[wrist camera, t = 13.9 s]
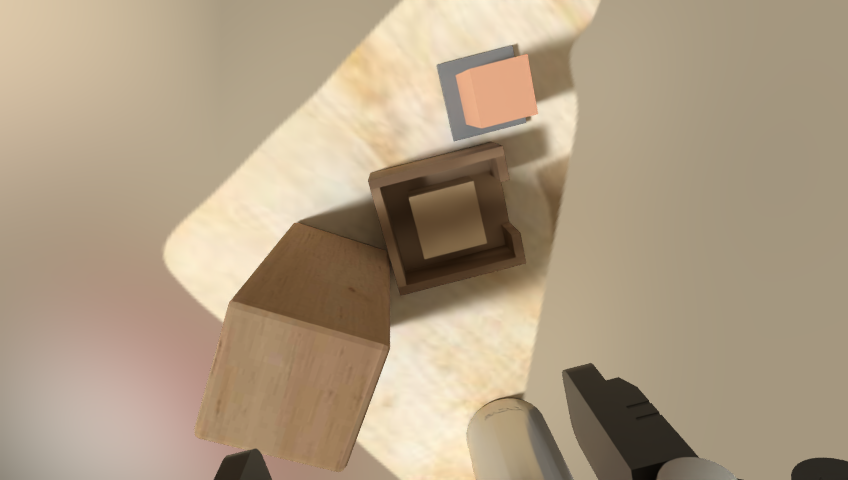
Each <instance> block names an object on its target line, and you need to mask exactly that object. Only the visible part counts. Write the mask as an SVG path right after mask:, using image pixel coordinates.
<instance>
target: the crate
mask: <svg viewBox="0 0 848 480" xmlns="http://www.w3.org/2000/svg"><path fill="white" fill-rule="evenodd" d="M507 180H510V179H509V174H508V169H507V164H506V159H505V154H504V149H503V146H501V145H498V144H496V143H493V142H489V143H485V144H481V145H477V146H473V147H470V148H466V149H462V150H458V151H454V152H450V153H446V154H442V155H439V156H435V157H431V158H427V159H423V160H419V161H415V162H411V163H407V164H404V165H400V166H396V167H392V168H388V169H384V170H380V171H376V172H373V173H370V176H369V179H368V182H369V186H370V190H371V193H372V197H373V200H374V204H375V207H376V211H377V214H378V218H379V221H380V225H381V229H382V232H383V236H384V239H385V243H386V246H387V250H388V253H389V257H390V260H391V264H392V268H393V271H394V275H395V278H396V282H397V285H398V289H399V292H400V296H401V295H405V294H409V293H412V292H416V291H420V290H424V289H428V288H432V287H436V286H440V285H444V284H447V283H451V282H455V281H459V280H463V279H467V278H471V277H475V276H479V275H482V274H486V273H490V272H494V271H498V270H502V269H506V268H510V267H514V266H517V265H521V264H525V263H526V260H525V255H524V250H523V245H522V240H521V235H520V232H519V231H518V230H517V229H516V228H515V227H514V226H513V225H511V224H510V223H509V219H508V214H507V209H506V204H505V199H504V194H503V190H502V185H501V182H503V181H507Z"/></svg>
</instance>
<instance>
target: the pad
mask: <svg viewBox="0 0 848 480" xmlns="http://www.w3.org/2000/svg"><path fill="white" fill-rule="evenodd" d="M513 57H514V52H513V47H512V46H508V47H504V48H500V49H496V50H492V51H488V52H484V53H481V54H477V55H473V56H469V57H465V58H461V59H457V60H453V61H450V62H446V63H442V64H438V65H437V69H438V74H439V78H440V82H441V87H442V91H443V96H444V100H445V105H446V109H447V113H448V118H449V122H450V127H451V131H452V136H453V140H454V141H457V140H461V139H465V138H469V137H473V136H477V135H480V134H484V133H488V132H492V131H496V130H500V129H504V128H508V127H511V126H515V125H519V124H523V123H526V118H525V117H524V118H520V119H516V120H513V121H509V122H505V123H501V124H497V125H493V126H489V127H486V128H478V127H474V126H470V125H466V121H465V117H464V112H463V107H462V103H461V98H460V94H459V89H458V85H457V80H456V75H457V74H459V73H462V72H464V71H466V70H468V69H471V68H475V67H479V66H483V65H486V64H490V63H494V62H498V61H502V60H506V59H510V58H513Z"/></svg>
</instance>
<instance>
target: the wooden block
mask: <svg viewBox="0 0 848 480" xmlns="http://www.w3.org/2000/svg"><path fill="white" fill-rule="evenodd" d="M389 350H390V257H389V253H388V252H387V251H385V250H382V249H379V248H376V247H373V246H370V245H367V244H363V243H360V242H357V241H354V240H351V239H348V238H345V237H341V236H338V235H335V234H332V233H329V232H326V231H323V230H319V229H316V228H313V227H310V226H307V225H304V224H301V223H294V224H293V225H292V226H291V227H290V229H289V230H288V231H287V232H286V234H285V235H284V236H283V237H282V238H281V240H280V241H279V242H278V243H277V245H276V246H275V247H274V248H273V250H272V251H271V252H270V253H269V254H268V256H267V257H266V258H265V259H264V261H263V262H262V263H261V264H260V265H259V267H258V268H257V269H256V270H255V272H254V273H253V274H252V275H251V276H250V278H249V279H248V280H247V281H246V283H245V284H244V285H243V286H242V287H241V289H240V290H239V291H238V292H237V294H236V295H235V296H234V297H233V299H232V300H231V301H230V302H229V305H228V308H227V312H226V316H225V319H224V323H223V327H222V330H221V334H220V338H219V341H218V345H217V348H216V352H215V356H214V359H213V363H212V367H211V370H210V374H209V378H208V381H207V385H206V388H205V392H204V396H203V399H202V403H201V407H200V410H199V414H198V418H197V421H196V425H195V436H196V437H198V438H199V439H204V440H208V441H212V442H216V443H220V444H224V445H228V446H232V447H237V448H241V449H245V450H251V449H255V448H256V449H258V450H259V451H260V452H261V454H266V455H270V456H274V457H278V458H282V459H286V460H290V461H295V462H299V463H303V464H307V465H311V466H315V467H319V468H323V469H328V470H332V471H336V472H341V471H342V470H343V469H344V468H345V467H346V466H347V463H348V461H349V458H350V455H351V452H352V450H353V447H354V444H355V442H356V439H357V436H358V434H359V431H360V428H361V425H362V423H363V420H364V417H365V415H366V412H367V409H368V407H369V404H370V401H371V398H372V396H373V393H374V390H375V388H376V385H377V382H378V380H379V377H380V374H381V372H382V369H383V366H384V363H385V361H386V358H387V355H388V353H389Z"/></svg>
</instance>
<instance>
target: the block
mask: <svg viewBox="0 0 848 480" xmlns="http://www.w3.org/2000/svg"><path fill="white" fill-rule="evenodd" d="M456 80H457V85H458V89H459V94H460V98H461V103H462V107H463V112H464V117H465V121H466V125H470V126H474V127H478V128H486V127H489V126H493V125H497V124H501V123H505V122H509V121H513V120H516V119H520V118H524V117H528V116H532V115H536V114H538V111H537V106H536V100H535V94H534V89H533V83H532V77H531V71H530V66H529V60H528V54H525V55H521V56H517V57H513V58H510V59H506V60H502V61H498V62H494V63H490V64H486V65H483V66H479V67H475V68H471V69H468V70H466V71H464V72H462V73H459V74H457V75H456Z"/></svg>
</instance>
